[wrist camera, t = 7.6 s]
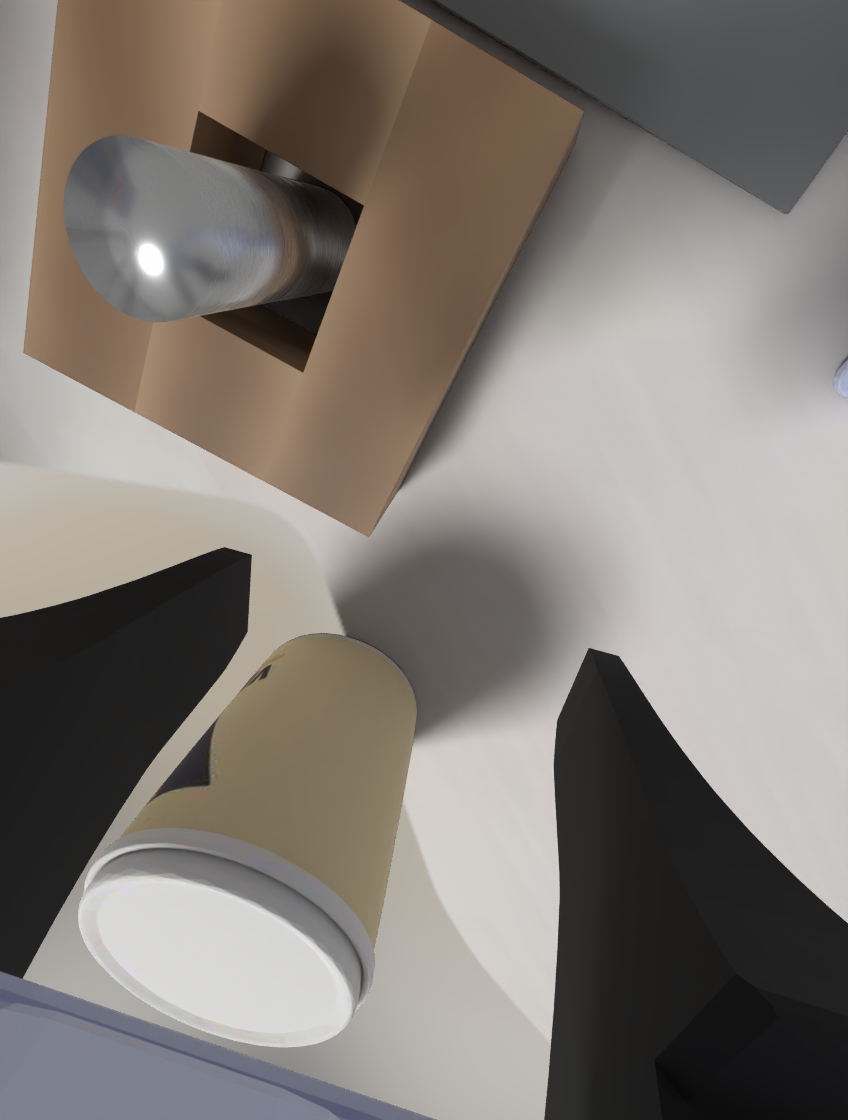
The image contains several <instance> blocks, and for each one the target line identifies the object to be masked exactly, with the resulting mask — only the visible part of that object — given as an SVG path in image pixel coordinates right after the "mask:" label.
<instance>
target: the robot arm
mask: <svg viewBox="0 0 848 1120" xmlns="http://www.w3.org/2000/svg"><path fill="white" fill-rule="evenodd" d="M833 385H834V388H835V390H836V391H837V392H838V393H840V394H841V395H843V396H845V397H846V398H848V359H847V360H846V362H845V363H844V364H843V365H842V366H841V367H840V369H839V370H838V371H837V373H836V374H835V376H834V381H833ZM251 558H252V555H250V554H247V553H243V552H239V551H236V550H232V549H229V548H225V547H224V548H221V549H217V550H215V551H211V552H209V553H206V554H203V555H201V556H198V557H195V558H193V559H190V560H187V561H185V562H182V563H180V564H177V565H174V566H172V567H169V568H167V569H164V570H162V571H159V572H156V573H153V574H151V575H148V576H146V577H143V578H140V579H138V580H135V581H132V582H129V583H126V584H123V585H120V586H117V587H114V588H111V589H108V590H105V591H102V592H99V593H96V594H93V595H90V596H87V597H83V598H80V599H77V600H73V601H69V602H66V603H62V604H59V605H55V606H51V607H47V608H43V609H39V610H35V611H31V612H27V613H22V614H18V615H13V616H8V617H3V618H0V1120H436V1119H433V1118H429V1117H427V1116H423V1115H421V1114H418V1113H415V1112H412V1111H409V1110H406V1109H403V1108H400V1107H397V1106H394V1105H391V1104H389V1103H385V1102H383V1101H380V1100H377V1099H374V1098H371V1097H368V1096H365V1095H362V1094H359V1093H356V1092H353V1091H350V1090H347V1089H344V1088H341V1087H338V1086H336V1085H333V1084H330V1083H327V1082H324V1081H320V1080H318V1079H315V1078H312V1077H309V1076H306V1075H303V1074H300V1073H297V1072H294V1071H292V1070H289V1069H286V1068H282V1067H279V1066H276V1065H274V1064H271V1063H268V1062H265V1061H262V1060H259V1059H256V1058H253V1057H250V1056H247V1055H244V1054H242V1053H239V1052H236V1051H233V1050H230V1049H227V1048H224V1047H221V1046H218V1045H215V1044H212V1043H209V1042H206V1041H203V1040H200V1039H197V1038H194V1037H192V1036H189V1035H186V1034H183V1033H180V1032H177V1031H174V1030H171V1029H168V1028H165V1027H162V1026H159V1025H156V1024H153V1023H150V1022H147V1021H144V1020H141V1019H138V1018H136V1017H133V1016H129V1015H127V1014H124V1013H121V1012H118V1011H115V1010H112V1009H109V1008H106V1007H103V1006H100V1005H97V1004H94V1003H92V1002H89V1001H86V1000H83V999H80V998H77V997H74V996H71V995H68V994H65V993H62V992H59V991H56V990H53V989H50V988H47V987H45V986H41V985H39V984H36V983H33V982H30V981H27V980H24V979H22V978H23V976H24V975H25V973H26V971H27V969H28V967H29V965H30V964H31V962H32V960H33V958H34V956H35V955H36V953H37V951H38V949H39V947H40V945H41V944H42V942H43V940H44V938H45V936H46V935H47V933H48V931H49V929H50V927H51V925H52V924H53V922H54V920H55V918H56V916H57V915H58V913H59V911H60V909H61V908H62V906H63V904H64V903H65V901H66V899H67V897H68V896H69V894H70V892H71V890H72V889H73V887H74V885H75V883H76V882H77V880H78V878H79V876H80V875H81V873H82V872H83V870H84V868H85V866H86V865H87V863H88V861H89V859H90V858H91V856H92V855H93V853H94V851H95V850H96V848H97V847H98V845H99V843H100V842H101V840H102V838H103V837H104V835H105V833H106V832H107V830H108V829H109V827H110V825H111V824H112V822H113V821H114V819H115V817H116V816H117V814H118V812H119V811H120V809H121V808H122V806H123V805H124V803H125V802H126V800H127V799H128V797H129V795H130V794H131V792H132V791H133V789H134V788H135V786H136V785H137V783H138V782H139V780H140V779H141V777H142V775H143V774H144V772H145V771H146V769H147V768H148V767H149V765H150V764H151V763H152V761H153V760H154V758H155V757H156V756H157V754H158V753H159V752H160V750H161V749H162V748H163V746H164V745H165V744H166V743H167V742H168V740H169V739H170V738H171V737H172V735H173V734H174V733H175V732H176V730H177V729H178V728H179V727H180V726H181V724H182V723H183V722H184V721H185V719H186V718H187V717H188V716H189V714H190V713H191V712H192V711H193V709H194V708H195V707H196V706H197V704H198V703H199V702H200V701H201V700H202V698H203V697H204V696H205V694H206V693H207V692H208V691H209V689H210V688H211V687H212V686H213V684H214V683H215V682H216V681H217V679H218V678H219V677H220V675H221V674H222V673H223V672H224V670H225V669H226V667H227V666H228V664H229V662H230V661H231V659H232V658H233V656H234V654H235V653H236V651H237V649H238V648H239V646H240V644H241V642H242V640H243V639H244V637H245V635H246V634H247V632H248V614H249V594H250V577H251ZM554 782H555V802H556V819H557V837H558V854H559V871H560V905H559V928H558V950H557V967H556V983H555V999H554V1014H553V1027H552V1039H551V1052H550V1065H549V1078H548V1088H547V1098H546V1108H545V1118H544V1119H545V1120H848V923H847V922H846V921H844V920H843V919H842V918H841V917H840V916H839V915H837V914H836V913H835V912H834V911H833V910H832V909H831V908H829V907H828V906H827V905H826V904H825V903H824V902H823V901H822V900H820V899H819V898H818V897H817V896H816V895H815V894H814V893H813V892H812V891H811V890H809V889H808V888H807V887H806V886H805V885H804V884H803V883H802V882H801V881H800V880H799V879H798V878H797V877H795V876H794V875H793V874H792V873H791V872H790V871H789V870H788V869H787V868H786V867H785V866H784V865H783V864H782V863H781V862H780V861H779V860H778V859H777V858H776V857H775V856H774V855H773V854H772V853H771V852H770V851H769V850H768V849H767V848H766V847H765V846H764V845H763V844H762V843H761V842H760V841H759V840H758V839H757V838H756V837H755V836H754V835H753V834H752V833H751V832H750V831H749V829H748V828H747V827H746V826H745V825H744V824H743V823H742V822H741V821H740V820H739V818H738V817H737V816H736V815H735V814H734V813H733V812H732V811H731V809H730V808H729V807H728V806H727V805H726V804H725V803H724V802H723V800H722V799H721V798H720V797H719V796H718V795H717V794H716V792H715V791H714V790H713V789H712V788H711V786H710V785H709V784H708V783H707V782H706V780H705V779H704V778H703V777H702V775H701V774H700V773H699V771H698V770H697V769H696V767H695V766H694V765H693V764H692V762H691V761H690V760H689V758H688V757H687V756H686V755H685V753H684V752H683V751H682V749H681V748H680V746H679V745H678V744H677V742H676V741H675V740H674V738H673V737H672V735H671V734H670V733H669V731H668V730H667V728H666V727H665V725H664V724H663V722H662V721H661V720H660V718H659V717H658V715H657V714H656V712H655V711H654V709H653V708H652V706H651V705H650V703H649V702H648V700H647V698H646V697H645V695H644V694H643V692H642V691H641V689H640V688H639V686H638V685H637V683H636V681H635V680H634V678H633V677H632V675H631V674H630V672H629V671H628V669H627V667H626V666H625V664H624V663H623V662H622V660H621V659H620V657H619V656H616V655H613V654H609V653H605V652H602V651H598V650H594V649H591V648H589V649H588V651H587V653H586V656H585V658H584V660H583V663H582V665H581V667H580V669H579V672H578V674H577V676H576V679H575V681H574V683H573V686H572V688H571V690H570V692H569V695H568V697H567V699H566V702H565V704H564V706H563V708H562V711H561V713H560V715H559V718H558V720H557V729H556V741H555V754H554Z"/></svg>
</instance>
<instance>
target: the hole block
mask: <svg viewBox="0 0 848 1120" xmlns="http://www.w3.org/2000/svg"><path fill="white" fill-rule="evenodd" d="M582 115H583V110H581V109H580V108H578V107H576V106H575V105H573V104H571V103H570V102H568V101H566V100H565V99H563V98H561V97H560V96H558V95H556V94H555V93H553V92H551V91H550V90H548V89H546V88H545V87H543V86H541V85H540V84H538V83H536V82H535V81H533V80H531V79H530V78H528V77H526V76H525V75H523V74H521V73H520V72H518V71H516V70H515V69H513V68H511V67H510V66H508V65H506V64H505V63H503V62H501V61H500V60H498V59H496V58H495V57H493V56H491V55H490V54H488V53H486V52H485V51H483V50H481V49H480V48H478V47H476V46H475V45H473V44H471V43H470V42H468V41H466V40H465V39H463V38H461V37H460V36H458V35H456V34H455V33H453V32H451V31H450V30H448V29H446V28H445V27H443V26H441V25H440V24H438V23H436V22H435V21H433V20H431V19H430V18H428V17H426V16H425V15H423V14H421V13H420V12H418V11H416V10H415V9H413V8H411V7H410V6H408V5H406V4H405V3H403V2H401V1H400V0H58V6H57V16H56V26H55V36H54V47H53V57H52V67H51V77H50V87H49V97H48V107H47V118H46V128H45V138H44V148H43V158H42V168H41V179H40V189H39V199H38V209H37V219H36V229H35V240H34V250H33V260H32V270H31V280H30V290H29V301H28V311H27V321H26V331H25V341H24V351H23V353H25V354H27V355H29V356H30V357H32V358H34V359H36V360H38V361H40V362H42V363H44V364H45V365H47V366H49V367H51V368H53V369H55V370H57V371H59V372H60V373H62V374H64V375H66V376H68V377H70V378H72V379H74V380H75V381H77V382H79V383H81V384H83V385H85V386H87V387H89V388H90V389H92V390H94V391H96V392H98V393H100V394H102V395H104V396H105V397H107V398H109V399H111V400H113V401H115V402H117V403H118V404H120V405H122V406H124V407H126V408H128V409H130V410H132V411H133V412H135V413H137V414H139V415H141V416H143V417H145V418H147V419H148V420H150V421H152V422H154V423H156V424H158V425H160V426H162V427H163V428H165V429H167V430H169V431H171V432H173V433H175V434H177V435H178V436H180V437H182V438H184V439H186V440H188V441H190V442H192V443H193V444H195V445H197V446H199V447H201V448H203V449H205V450H207V451H208V452H210V453H212V454H214V455H216V456H218V457H220V458H222V459H223V460H225V461H227V462H229V463H231V464H233V465H235V466H237V467H238V468H240V469H242V470H244V471H246V472H248V473H250V474H251V475H253V476H255V477H257V478H259V479H261V480H263V481H265V482H266V483H268V484H270V485H272V486H274V487H276V488H278V489H280V490H281V491H283V492H285V493H287V494H289V495H291V496H293V497H295V498H296V499H298V500H300V501H302V502H304V503H306V504H308V505H310V506H311V507H313V508H315V509H317V510H319V511H321V512H323V513H325V514H326V515H328V516H330V517H332V518H334V519H336V520H338V521H340V522H341V523H343V524H345V525H347V526H349V527H351V528H353V529H355V530H356V531H358V532H360V533H362V534H364V535H366V536H368V537H369V536H370V535H371V533H372V531H373V530H374V528H375V527H376V525H377V524H378V522H379V520H380V519H381V517H382V516H383V514H384V512H385V511H386V509H387V508H388V506H389V505H390V503H391V501H392V500H393V498H394V497H395V495H396V493H397V492H398V490H399V488H400V486H401V484H402V482H403V480H404V478H405V476H406V474H407V472H408V470H409V468H410V466H411V464H412V462H413V460H414V458H415V456H416V455H417V453H418V451H419V449H420V447H421V445H422V443H423V441H424V439H425V437H426V435H427V433H428V431H429V429H430V427H431V425H432V423H433V421H434V419H435V417H436V415H437V413H438V411H439V409H440V407H441V406H442V404H443V402H444V400H445V398H446V396H447V394H448V392H449V390H450V388H451V386H452V384H453V382H454V380H455V378H456V376H457V374H458V372H459V370H460V368H461V366H462V364H463V362H464V360H465V358H466V356H467V355H468V353H469V351H470V349H471V347H472V345H473V343H474V341H475V339H476V337H477V335H478V333H479V331H480V329H481V327H482V325H483V323H484V321H485V319H486V317H487V315H488V313H489V311H490V309H491V307H492V305H493V304H494V302H495V300H496V298H497V296H498V294H499V292H500V290H501V288H502V286H503V284H504V282H505V280H506V278H507V276H508V274H509V272H510V270H511V268H512V266H513V264H514V262H515V260H516V258H517V256H518V255H519V253H520V251H521V249H522V247H523V245H524V243H525V241H526V239H527V237H528V235H529V233H530V231H531V229H532V227H533V225H534V223H535V221H536V219H537V217H538V215H539V213H540V211H541V209H542V207H543V205H544V204H545V202H546V200H547V198H548V196H549V194H550V192H551V190H552V188H553V186H554V184H555V182H556V180H557V178H558V176H559V174H560V172H561V170H562V168H563V166H564V164H565V162H566V160H567V158H568V156H569V154H570V153H571V151H572V149H573V147H574V145H575V143H576V139H577V135H578V131H579V127H580V123H581V119H582ZM114 135H126V136H133V137H137V138H140V139H144V140H148V141H152V142H155V143H159V144H163V145H166V146H170V147H174V148H177V149H181V150H185V151H188V152H192V153H196V154H200V155H203V156H207V157H211V158H214V159H218V160H222V161H225V162H229V163H233V164H236V165H240V166H244V167H247V168H251V169H255V170H259V171H260V169H261V165H262V161H263V158H264V154H265V150H268V151H270V152H271V153H273V154H275V155H277V156H278V157H280V158H282V159H284V160H285V161H287V162H289V163H291V164H292V165H294V166H296V167H298V168H299V169H301V170H303V171H305V172H306V173H308V174H310V175H312V176H313V177H315V178H317V179H319V180H320V181H322V182H324V183H326V184H327V185H329V186H331V187H332V188H334V189H336V190H338V191H339V192H341V193H343V194H345V195H346V196H348V197H350V198H352V199H353V200H355V201H357V202H359V203H360V204H362V205H364V207H363V210H362V213H361V216H360V218H359V221H358V224H357V227H356V229H355V232H354V235H353V238H352V240H351V243H350V246H349V249H348V251H347V254H346V257H345V260H344V262H343V265H342V268H341V271H340V273H339V276H338V279H337V282H336V284H335V287H334V290H333V293H332V295H331V298H330V301H329V304H328V306H327V309H326V312H325V315H324V317H323V320H322V323H321V326H320V328H319V331H318V334H317V336H316V335H314V334H313V333H311V332H309V331H307V330H305V329H304V328H302V327H300V326H298V325H296V324H294V323H293V322H291V321H289V320H287V319H285V318H284V317H282V316H280V315H278V314H276V313H275V312H273V311H271V310H269V309H267V308H266V307H264V306H262V305H255V306H250V307H244V308H239V309H233V310H228V311H222V312H217V313H212V314H206V315H201V316H195V317H190V318H184V319H179V320H174V321H168V322H147V321H142V320H139V319H136V318H133V317H131V316H129V315H127V314H125V313H123V312H121V311H120V310H118V309H116V308H115V307H114V306H113V305H111V304H110V303H109V302H107V301H106V300H105V299H104V298H103V297H102V296H101V295H100V294H99V293H98V292H97V291H96V289H95V288H94V287H93V286H92V285H91V283H90V282H89V280H88V279H87V278H86V276H85V275H84V273H83V271H82V270H81V268H80V266H79V264H78V262H77V260H76V258H75V256H74V254H73V251H72V248H71V246H70V243H69V239H68V235H67V232H66V226H65V220H64V192H65V186H66V181H67V178H68V175H69V172H70V170H71V168H72V165H73V163H74V162H75V160H76V159H77V157H78V156H79V155H80V153H81V152H82V151H83V150H84V149H85V148H86V147H88V146H89V145H90V144H92V143H93V142H95V141H97V140H99V139H101V138H104V137H108V136H114Z"/></svg>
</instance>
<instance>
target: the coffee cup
mask: <svg viewBox="0 0 848 1120" xmlns="http://www.w3.org/2000/svg"><path fill="white" fill-rule="evenodd" d="M416 718H417V705H416V699H415V695H414V692H413V689H412V687H411V685H410V683H409V681H408V679H407V677H406V676H405V675H404V673H403V672H402V671H401V669H400V668H399V667H398V666H397V665H396V664H395V663H394V662H393V661H392V660H391V659H390V658H388V657H387V656H386V655H385V654H383V653H382V652H381V651H379V650H377V649H376V648H374V647H372V646H370V645H368V644H366V643H364V642H362V641H359V640H356V639H354V638H351V637H347V636H342V635H337V634H327V633H320V634H309V635H304V636H300V637H297V638H295V639H292V640H290V641H288V642H286V643H285V644H283V645H282V646H280V647H279V648H278V649H277V650H276V651H274V653H273V654H272V655H271V656H270V657H269V658H268V659H267V660H266V661H265V663H264V664H263V665H262V666H261V667H260V668H259V669H258V671H257V672H256V673H255V674H254V675H253V676H252V677H251V679H250V680H249V681H248V682H247V683H246V685H245V686H244V687H243V688H242V689H241V691H240V692H239V693H238V694H237V695H236V697H235V698H234V699H233V700H232V701H231V703H230V704H229V705H228V706H227V707H226V709H225V710H224V711H223V712H222V714H221V715H220V716H219V717H218V718H217V719H216V721H215V722H214V723H213V724H212V725H211V727H210V728H209V729H208V730H207V731H206V733H205V734H204V735H203V736H202V737H201V739H200V740H199V741H198V742H197V744H196V745H195V746H194V747H193V748H192V750H191V751H190V752H189V753H188V754H187V756H186V757H185V758H184V759H183V760H182V762H181V763H180V764H179V765H178V766H177V768H176V769H175V770H174V771H173V773H172V774H171V775H170V776H169V777H168V779H167V780H166V781H165V782H164V783H163V785H162V786H161V787H160V788H159V790H158V791H157V792H156V793H155V794H154V796H153V797H152V798H151V799H150V801H149V802H148V803H147V804H146V806H145V807H144V808H143V810H142V811H141V812H140V813H139V815H138V816H137V817H136V818H135V819H134V821H133V822H132V823H131V824H130V826H129V827H128V828H127V829H126V831H125V832H124V833H123V834H122V836H121V837H120V838H119V839H118V840H116V841H115V842H113V843H112V844H111V845H109V846H108V847H107V848H106V850H105V851H104V852H103V853H102V854H101V855H100V856H99V857H98V859H97V860H96V861H95V862H94V864H93V866H92V868H91V869H90V871H89V873H88V875H87V877H86V881H85V888H84V894H83V896H82V899H81V902H80V905H79V910H78V920H79V928H80V931H81V935H82V937H83V939H84V941H85V944H86V946H87V947H88V949H89V950H90V952H91V953H92V955H93V956H94V958H95V959H96V960H97V962H98V963H99V964H100V965H101V966H102V967H103V968H104V969H105V970H106V971H107V972H108V973H109V974H110V975H111V976H112V977H113V978H114V979H115V980H116V981H117V982H119V983H120V984H121V985H122V986H124V987H125V988H126V989H127V990H129V991H130V992H131V993H132V994H134V995H135V996H137V997H138V998H140V999H141V1000H143V1001H144V1002H146V1003H147V1004H149V1005H150V1006H152V1007H153V1008H155V1009H157V1010H159V1011H161V1012H163V1013H165V1014H166V1015H168V1016H170V1017H172V1018H175V1019H176V1020H179V1021H180V1022H183V1023H185V1024H187V1025H190V1026H192V1027H195V1028H197V1029H200V1030H203V1031H205V1032H208V1033H211V1034H214V1035H217V1036H221V1037H224V1038H228V1039H231V1040H235V1041H239V1042H244V1043H249V1044H254V1045H261V1046H272V1047H273V1046H274V1047H295V1046H296V1047H297V1046H307V1045H312V1044H316V1043H320V1042H322V1041H325V1040H327V1039H330V1038H332V1037H334V1036H335V1035H336V1034H338V1033H339V1032H340V1031H342V1030H343V1029H344V1028H345V1027H346V1026H347V1024H348V1023H349V1022H350V1020H351V1019H352V1017H353V1015H354V1013H355V1011H356V1010H357V1009H358V1008H359V1007H360V1006H361V1005H362V1004H363V1002H364V1001H365V999H366V998H367V995H368V993H369V990H370V987H371V985H372V979H373V972H374V966H375V956H374V955H375V954H374V947H375V943H376V937H377V933H378V928H379V923H380V918H381V913H382V907H383V903H384V898H385V893H386V888H387V882H388V877H389V872H390V866H391V861H392V855H393V850H394V845H395V839H396V834H397V829H398V823H399V818H400V812H401V807H402V801H403V796H404V790H405V784H406V779H407V773H408V768H409V762H410V757H411V751H412V745H413V739H414V732H415V725H416Z"/></svg>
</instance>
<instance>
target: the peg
mask: <svg viewBox="0 0 848 1120" xmlns="http://www.w3.org/2000/svg"><path fill="white" fill-rule="evenodd" d="M64 220H65V226H66V232H67V235H68V239H69V243H70V246H71V248H72V251H73V254H74V256H75V258H76V260H77V262H78V264H79V266H80V268H81V270H82V271H83V273H84V275H85V276H86V278H87V279H88V280H89V282H90V283H91V285H92V286H93V287H94V288H95V289H96V291H97V292H98V293H99V294H100V295H101V296H102V297H103V298H104V299H105V300H106V301H107V302H109V303H110V304H111V305H113V306H114V307H115V308H116V309H118V310H120V311H121V312H123V313H125V314H127V315H129V316H131V317H133V318H136V319H139V320H142V321H147V322H168V321H174V320H179V319H184V318H190V317H195V316H201V315H206V314H212V313H217V312H222V311H228V310H233V309H239V308H244V307H250V306H255V305H260V304H266V303H271V302H277V301H282V300H288V299H293V298H298V297H304V296H309V295H315V294H320V293H326V292H329V291H332V290H334V287H335V284H336V282H337V279H338V276H339V273H340V271H341V268H342V265H343V262H344V260H345V257H346V254H347V251H348V249H349V246H350V243H351V240H352V238H353V235H354V232H355V229H356V227H357V226H356V223H355V220H354V218H353V216H352V214H351V212H350V210H349V209H348V207H347V206H346V205H345V203H344V202H343V201H342V200H341V199H340V198H339V197H338V196H336V195H335V194H334V193H332V192H331V191H329V190H327V189H324V188H321V187H318V186H314V185H310V184H307V183H303V182H299V181H295V180H292V179H288V178H284V177H281V176H277V175H273V174H270V173H266V172H262V171H259V170H255V169H251V168H247V167H244V166H240V165H236V164H233V163H229V162H225V161H222V160H218V159H214V158H211V157H207V156H203V155H200V154H196V153H192V152H188V151H185V150H181V149H177V148H174V147H170V146H166V145H163V144H159V143H155V142H152V141H148V140H144V139H140V138H137V137H133V136H126V135H114V136H108V137H104V138H101V139H99V140H97V141H95V142H93V143H92V144H90V145H89V146H88V147H86V148H85V149H84V150H83V151H82V152H81V153H80V155H79V156H78V157H77V159H76V160H75V162H74V163H73V165H72V168H71V170H70V172H69V175H68V178H67V181H66V186H65V192H64Z"/></svg>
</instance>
